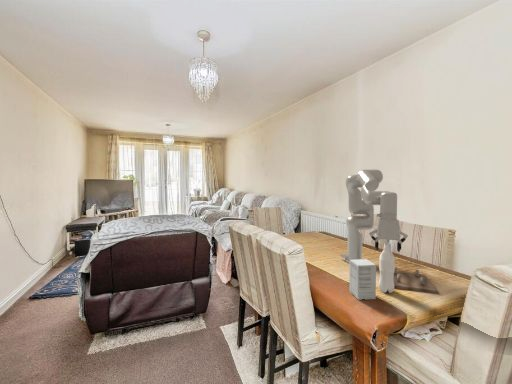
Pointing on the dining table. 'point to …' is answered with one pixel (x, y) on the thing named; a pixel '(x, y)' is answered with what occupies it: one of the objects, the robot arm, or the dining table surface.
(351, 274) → the supplement box
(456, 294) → the dining table surface
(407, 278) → the peg stand
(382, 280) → the water bottle
